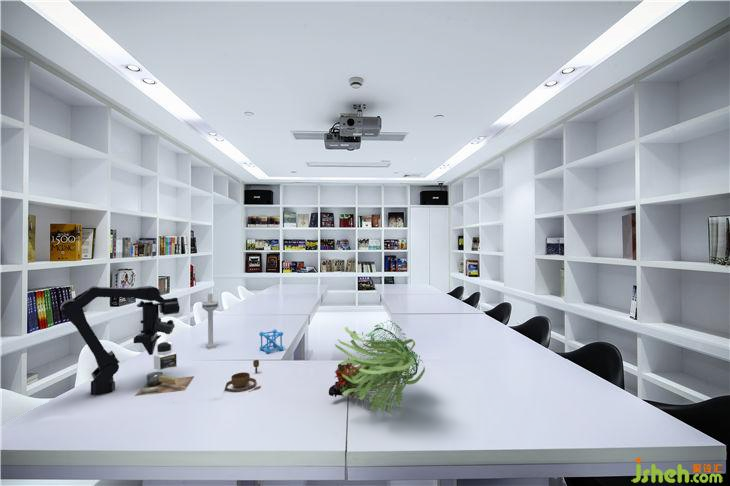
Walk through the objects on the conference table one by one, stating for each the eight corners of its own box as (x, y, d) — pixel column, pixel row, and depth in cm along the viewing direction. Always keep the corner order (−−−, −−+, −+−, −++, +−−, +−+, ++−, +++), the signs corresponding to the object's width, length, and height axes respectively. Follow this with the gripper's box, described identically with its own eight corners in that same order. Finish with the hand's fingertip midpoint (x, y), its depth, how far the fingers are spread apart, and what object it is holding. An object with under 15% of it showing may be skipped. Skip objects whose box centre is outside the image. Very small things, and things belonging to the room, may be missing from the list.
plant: (377, 354, 151) (450, 324, 126) (368, 444, 127) (455, 428, 102) (311, 321, 136) (378, 280, 112) (287, 415, 113) (366, 389, 88)
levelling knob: (143, 384, 138) (143, 375, 138) (157, 379, 143) (157, 370, 143) (170, 390, 131) (170, 381, 131) (183, 385, 136) (183, 376, 136)
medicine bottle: (160, 372, 156) (160, 346, 156) (153, 369, 160) (153, 343, 160) (176, 368, 161) (176, 342, 161) (169, 365, 166) (169, 340, 166)
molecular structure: (276, 346, 194) (275, 328, 194) (284, 350, 186) (283, 331, 186) (258, 350, 187) (258, 331, 188) (266, 354, 180) (266, 335, 180)
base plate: (134, 399, 128) (134, 391, 128) (149, 384, 142) (149, 376, 143) (184, 394, 132) (184, 386, 132) (194, 379, 147) (194, 372, 147)
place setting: (214, 387, 140) (214, 373, 140) (256, 372, 156) (256, 359, 156) (240, 398, 129) (240, 382, 129) (282, 380, 146) (282, 366, 146)
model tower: (216, 344, 200) (215, 292, 200) (221, 347, 194) (220, 293, 194) (200, 347, 195) (200, 293, 195) (205, 350, 188) (204, 295, 188)
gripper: (164, 320, 136) (165, 360, 136) (178, 311, 154) (178, 346, 154) (132, 321, 134) (133, 362, 133) (150, 313, 152) (150, 348, 152)
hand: (151, 354), depth 143 cm, fingers closed
